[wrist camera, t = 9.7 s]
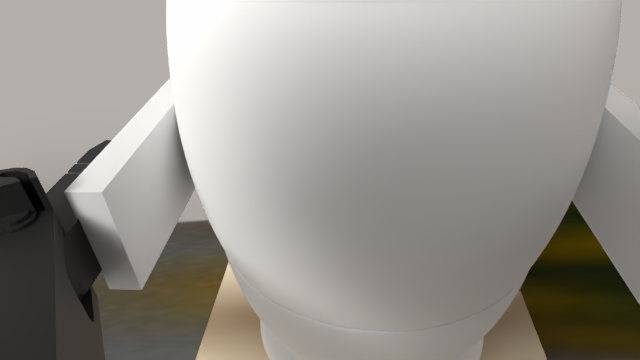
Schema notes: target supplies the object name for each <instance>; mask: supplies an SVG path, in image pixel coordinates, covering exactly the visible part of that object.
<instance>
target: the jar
mask: <svg viewBox="0 0 640 360" xmlns="http://www.w3.org/2000/svg"><path fill="white" fill-rule="evenodd" d="M621 6H622V0H167V3H166V30H167V48H168V59H169V70H170V79H171V86H172V94H173V100H174V107H175V112H176V118H177V123H178V128H179V133H180V137H181V142H182V146H183V150H184V153H185V157H186V161H187V164H188V167H189V171H190V174H191V177H192V180H193V183H194V186H195V188H196V191H197V194H198V196H199V199H200V202H201V204H202V206H203V209H204V211H205V213H206V216H207V218H208V220H209V222H210V224H211V226H212V228H213V230H214V232H215V234H216V236H217V238H218V240H219V241H220V243H221V245H222V247H223V248H224V250H225V252H226V255H227V258H228V261H229V264H230V266H231V269H232V271H233V273H234V276H235V278H236V280H237V282H238V284H239V286H240V288H241V290H242V292H243V294H244V295H245V297H246V299H247V301H248V302H249V304H250V305H251V307H252V308H253V310H254V311H255V313H256V314H257V315H258V317H259V318H260V328H261V336H262V341H263V345H264V348H265V351H266V353H267V356H268V358H269V360H480V357H481V353H482V348H483V339H484V336H485V335H486V334H487V333H488V332H489V331H490V330H491V329H492V328H493V326H494V325H495V324H496V323H497V322H498V320H499V319H500V318H501V317H502V315H503V314H504V313H505V311H506V310H507V308H508V307H509V306H510V304H511V302H512V301H513V299H514V298H515V296H516V294H517V293H518V291H519V289H520V287H521V286H522V284H523V282H524V280H525V278H526V276H527V274H528V271H529V269H530V268H531V267H532V265H533V264H534V263H535V261H536V260H537V259H538V257H539V256H540V255H541V253H542V252H543V250H544V249H545V247H546V246H547V244H548V243H549V241H550V239H551V238H552V236H553V235H554V233H555V231H556V229H557V228H558V226H559V224H560V222H561V221H562V219H563V217H564V215H565V213H566V211H567V209H568V207H569V205H570V203H571V201H572V199H573V197H574V195H575V193H576V190H577V188H578V186H579V184H580V181H581V179H582V176H583V174H584V171H585V169H586V166H587V164H588V161H589V158H590V155H591V152H592V149H593V146H594V143H595V140H596V137H597V134H598V130H599V127H600V123H601V120H602V116H603V112H604V108H605V104H606V100H607V96H608V91H609V87H610V82H611V77H612V72H613V67H614V61H615V56H616V50H617V44H618V36H619V28H620V19H621Z"/></svg>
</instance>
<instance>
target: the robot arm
mask: <svg viewBox="0 0 640 360" xmlns="http://www.w3.org/2000/svg"><path fill="white" fill-rule="evenodd" d="M194 189H195V186H194V183H193V180H192V177H191V174H190V171H189V167H188V164H187V161H186V157H185V153H184V150H183V146H182V142H181V137H180V133H179V128H178V123H177V118H176V112H175V107H174V100H173V94H172V86H171V79H169V80H168V81H167V82H166V83H165V84H164V85H163V86H162V87H161V88H160V89H159V91H158V92H157V93H156V94H155V95H154V96H153V97H152V98H151V99H150V100H149V101H148V102H147V103H146V104H145V105H144V107H143V108H142V109H141V110H140V111H139V112H138V113H137V114H136V115H135V116H134V117H133V118H132V119H131V121H130V122H129V123H128V124H127V125H126V126H125V127H124V128H123V129H122V130H121V131H120V132H119V133H118V134H117V136H116V137H115V138H114V139H113V140H108V141H107V140H106V141H104V142H102V143H101V144H99V145H97V146H95V147H94V148H92V149H90V150H89V151H88V152H87V153H86V154H85V155H84V156H83V157H82V158H81V159H80V160H79V161H78V162H77V164H75V165H74V166H73V167H72V168H71V169H70V170H69V171H68V174H65V175H64V176H63V177H62V178H61V179H60V180H59V181H58V182H57V183H56V184H55V185H54V186H53V187H52V188H51V189H50V190H49V191H48V192H47V193H45V191H44V189H43V187H42V185H41V183H40V181H39V180H38V177H37V175H36V173H35V172H34V171H33V170H30V169H28V168H10V169H5V170H0V360H105V356H104V347H103V339H102V331H101V322H100V314H99V306H98V297H97V295H96V293H95V291H94V289H93V287H92V284H93V282H94V281H95V279H96V278H97V276H98V275H99V273H100V272H102V274H103V276H104V278H105V280H106V283H107V285H108V287H109V289H126V290H142V289H143V287H144V285H145V283H146V281H147V279H148V277H149V275H150V273H151V271H152V269H153V268H154V266H155V264H156V262H157V260H158V258H159V256H160V254H161V252H162V250H163V248H164V247H165V245H166V243H167V241H168V239H169V237H170V235H171V233H172V231H173V229H174V228H175V226H176V224H177V222H178V220H179V218H180V216H181V214H182V212H183V210H184V208H185V206H186V204H187V203H188V201H189V199H190V197H191V195H192V193H193V191H194ZM572 201H573V203H574V204H575V206H576V207H577V209H578V210H579V212H580V214H581V215H582V217H583V218H584V220H585V221H586V223H587V224H588V226H589V227H590V229H591V231H592V232H593V234H594V235H595V237H596V238H597V240H598V241H599V243H600V244H601V246H602V247H603V249H604V251H605V252H606V254H607V255H608V257H609V258H610V260H611V261H612V263H613V264H614V266H615V268H616V269H617V271H618V272H619V274H620V275H621V277H622V278H623V280H624V281H625V283H626V284H627V286H628V288H629V289H630V291H631V292H632V294H633V295H634V297H635V298H636V300H637V301H638V303H639V305H640V107H639V106H637V105H636V104H635V103H634V102H633V101H631V100H630V99H629V98H628V97H627V96H625V95H624V94H623V93H622V92H621V91H619V90H618V89H617V88H616V87H615V86H613V85H612V84H611V83H610V87H609V91H608V96H607V100H606V104H605V108H604V112H603V116H602V120H601V123H600V127H599V130H598V134H597V137H596V140H595V143H594V146H593V149H592V152H591V155H590V158H589V161H588V164H587V166H586V169H585V171H584V174H583V176H582V179H581V181H580V184H579V186H578V188H577V190H576V193H575V195H574V197H573V199H572Z"/></svg>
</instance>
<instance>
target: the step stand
mask: <svg viewBox="0 0 640 360" xmlns="http://www.w3.org/2000/svg"><path fill="white" fill-rule="evenodd" d="M196 360H269V358H268V356H267V353H266V351H265V348H264V345H263V341H262V336H261V328H260V318H259V317H258V315H257V314H256V313H255V311H254V310H253V308H252V307H251V305H250V304H249V302H248V301H247V299H246V297H245V295H244V294H243V292H242V290H241V288H240V286H239V284H238V282H237V280H236V278H235V276H234V273H233V271H232V269H231V266H230V264H229V263H228V266H227V269H226V272H225V275H224V278H223V281H222V284H221V286H220V289H219V292H218V295H217V298H216V301H215V304H214V307H213V310H212V313H211V316H210V319H209V322H208V325H207V328H206V331H205V334H204V337H203V340H202V343H201V346H200V349H199V351H198V354H197V357H196ZM480 360H547V358H546V356H545V353H544V351H543V348H542V345H541V343H540V340H539V338H538V335H537V332H536V330H535V327H534V325H533V322H532V319H531V317H530V314H529V312H528V309H527V306H526V304H525V301H524V299H523V296H522V294H521V291H520V289H519V291H518V293H517V294H516V296H515V298H514V299H513V301H512V302H511V304H510V306H509V307H508V308H507V310H506V311H505V313H504V314H503V315H502V317H501V318H500V319H499V320H498V322H497V323H496V324H495V325H494V326H493V328H492V329H491V330H490V331H489V332H488V333H487V334H486V335H485V336H484V339H483V348H482V353H481V357H480Z"/></svg>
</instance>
